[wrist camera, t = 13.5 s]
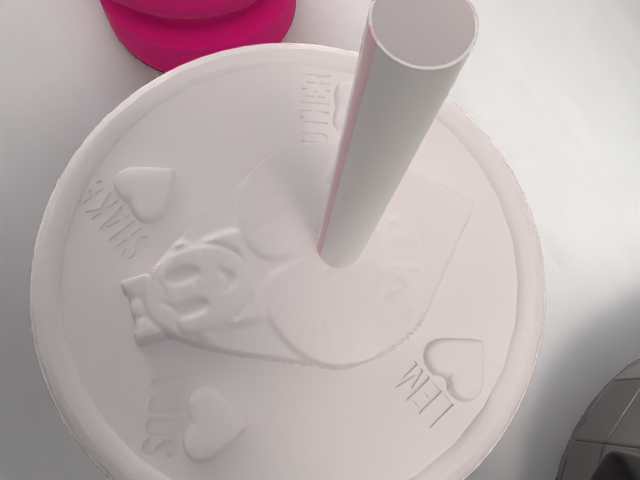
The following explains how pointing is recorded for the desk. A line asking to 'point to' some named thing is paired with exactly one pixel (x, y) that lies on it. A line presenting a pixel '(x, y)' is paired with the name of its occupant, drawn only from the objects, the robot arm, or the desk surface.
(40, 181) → the desk surface
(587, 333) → the desk surface
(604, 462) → the robot arm
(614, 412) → the pan
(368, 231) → the smoothie
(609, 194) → the desk surface
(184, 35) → the pepper mill
